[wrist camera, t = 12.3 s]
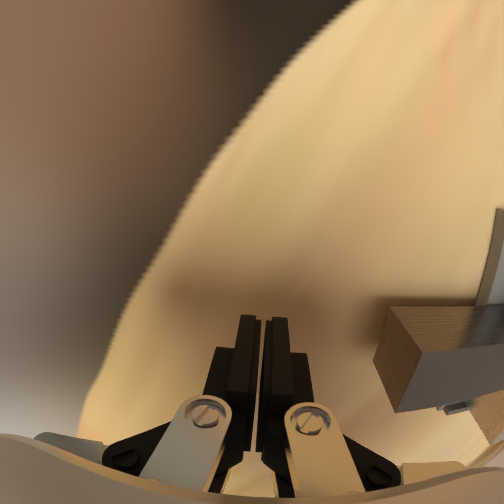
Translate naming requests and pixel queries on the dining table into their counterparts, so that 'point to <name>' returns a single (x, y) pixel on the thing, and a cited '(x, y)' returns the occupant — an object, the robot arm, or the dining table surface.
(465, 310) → the housing
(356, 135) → the dining table surface
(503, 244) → the base board
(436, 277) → the dining table surface
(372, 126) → the dining table surface
